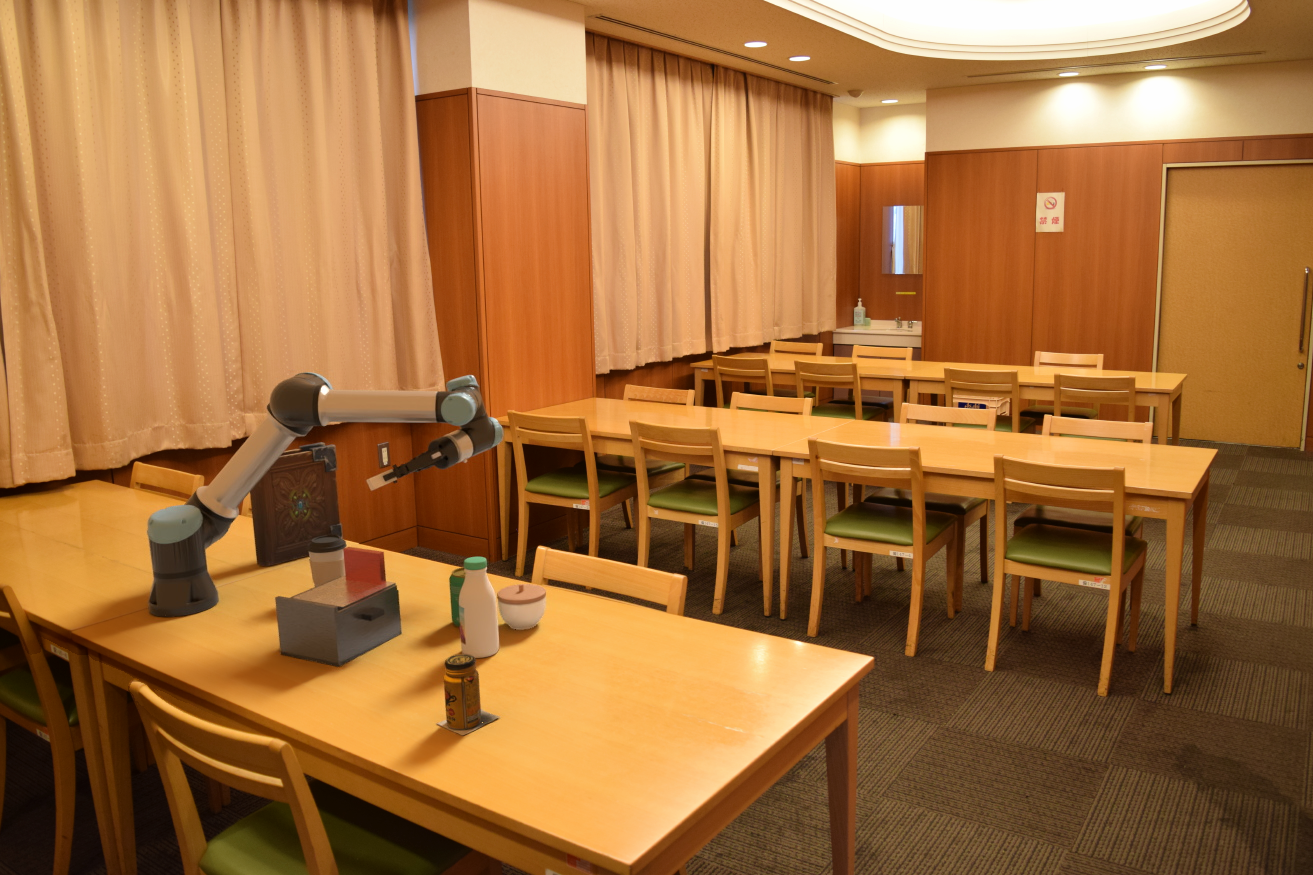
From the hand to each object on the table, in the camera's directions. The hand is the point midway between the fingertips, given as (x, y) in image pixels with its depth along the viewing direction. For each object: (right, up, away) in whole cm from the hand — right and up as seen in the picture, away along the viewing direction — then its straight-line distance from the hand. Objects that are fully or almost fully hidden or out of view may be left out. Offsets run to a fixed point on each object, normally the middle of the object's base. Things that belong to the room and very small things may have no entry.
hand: (370, 484), depth 220 cm
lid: (-2, -23, -13) cm, 26 cm away
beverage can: (+23, -31, -2) cm, 39 cm away
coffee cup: (-15, -28, +17) cm, 36 cm away
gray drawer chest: (-2, -33, -12) cm, 36 cm away
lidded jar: (+35, -31, -4) cm, 47 cm away
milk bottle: (+28, -34, -18) cm, 48 cm away
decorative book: (-35, -22, +51) cm, 66 cm away
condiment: (+32, -40, -48) cm, 70 cm away
